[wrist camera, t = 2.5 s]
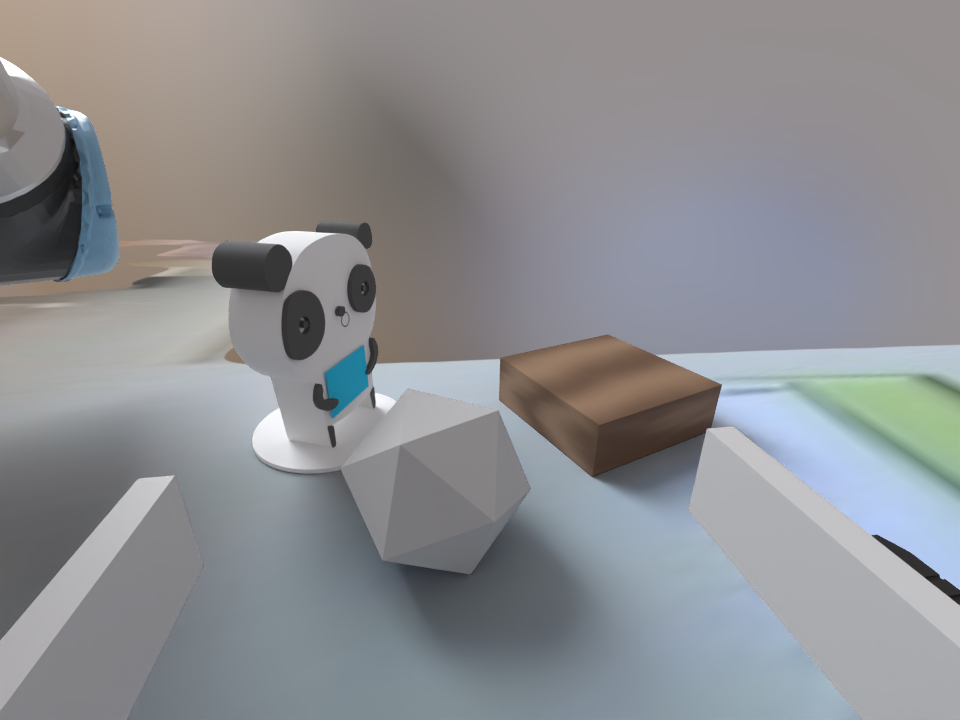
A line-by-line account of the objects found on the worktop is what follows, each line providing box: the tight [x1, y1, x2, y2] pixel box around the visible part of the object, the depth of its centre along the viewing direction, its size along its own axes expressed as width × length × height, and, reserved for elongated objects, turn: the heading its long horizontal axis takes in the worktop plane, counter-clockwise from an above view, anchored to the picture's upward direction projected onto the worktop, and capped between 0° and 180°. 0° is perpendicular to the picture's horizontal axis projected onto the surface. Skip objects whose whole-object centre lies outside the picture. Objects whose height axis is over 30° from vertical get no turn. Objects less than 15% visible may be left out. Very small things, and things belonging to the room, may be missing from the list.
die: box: [340, 389, 531, 575], centre depth 24 cm, size 8×9×10 cm
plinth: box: [499, 335, 722, 477], centre depth 37 cm, size 12×12×4 cm
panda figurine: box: [212, 221, 396, 474], centre depth 32 cm, size 12×11×15 cm
